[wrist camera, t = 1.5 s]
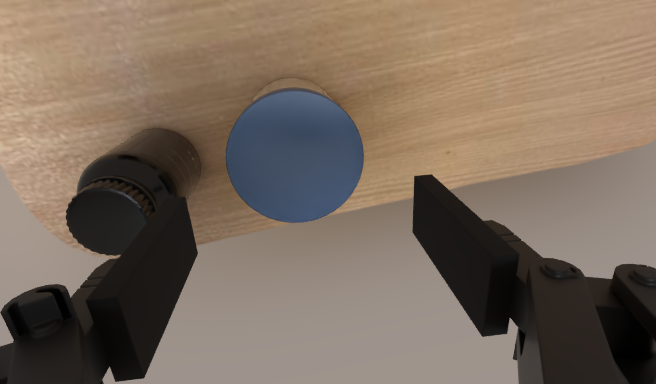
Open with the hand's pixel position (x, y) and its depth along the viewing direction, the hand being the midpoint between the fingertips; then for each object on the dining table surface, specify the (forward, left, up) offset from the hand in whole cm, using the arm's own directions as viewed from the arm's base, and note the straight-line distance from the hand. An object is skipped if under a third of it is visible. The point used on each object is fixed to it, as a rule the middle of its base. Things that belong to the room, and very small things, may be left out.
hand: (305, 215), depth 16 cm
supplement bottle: (-12, -3, -19) cm, 23 cm away
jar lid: (0, 0, -9) cm, 9 cm away
